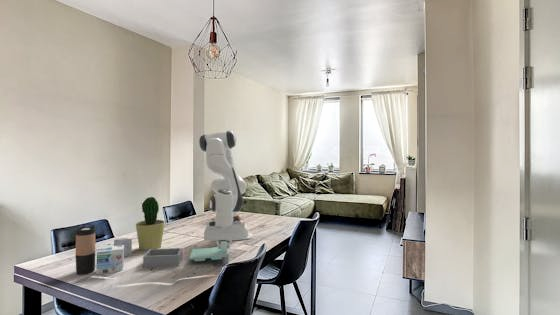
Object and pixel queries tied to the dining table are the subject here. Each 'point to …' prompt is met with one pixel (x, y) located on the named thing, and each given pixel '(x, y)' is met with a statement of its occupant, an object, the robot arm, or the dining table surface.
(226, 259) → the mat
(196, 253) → the lid
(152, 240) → the potted cactus
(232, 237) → the robot arm
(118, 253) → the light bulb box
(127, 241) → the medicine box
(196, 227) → the dining table surface
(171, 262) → the tub
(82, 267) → the travel mug
